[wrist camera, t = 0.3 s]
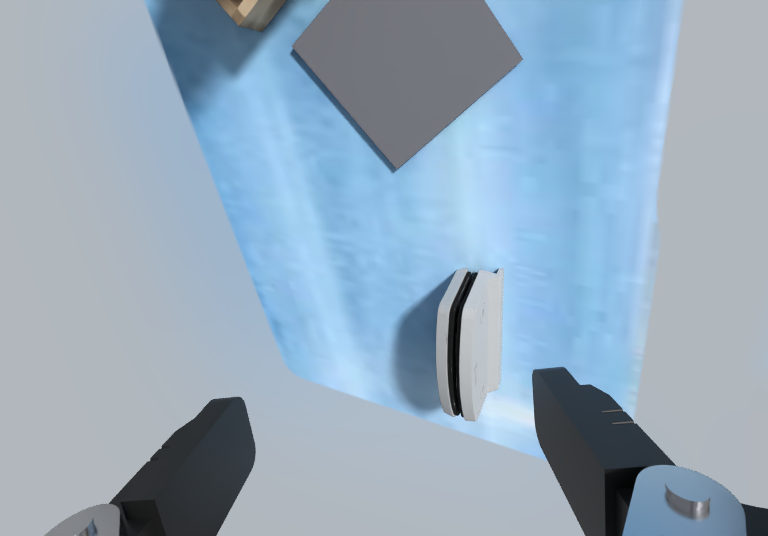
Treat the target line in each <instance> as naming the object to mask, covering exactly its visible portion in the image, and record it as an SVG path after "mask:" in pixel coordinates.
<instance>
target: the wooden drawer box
mask: <svg viewBox="0 0 768 536" xmlns="http://www.w3.org/2000/svg"><path fill="white" fill-rule="evenodd" d="M216 1H217V2H218V3H219V4H220V5H221V6H222V8H223V9H224V10H225V11H226V12H227V13H228V14H229V15H230V17H231V18H232V19H233V20H234V21H235V22H236V23H237V25H238V26H241V27H244V28H248V29H252V30H256V31H260V32H262V31H263V30H264V29H265V28H266V26H267V25H268V24H269V22H270V21H271V20H272V19H273V17H274V16H275V15H276V13H277V12H278V11H279V10H280V8H281V7H282V6H283V4H284V3H285V2H286V1H287V0H216Z"/></svg>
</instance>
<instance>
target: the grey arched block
mask: <svg viewBox="0 0 768 536" xmlns="http://www.w3.org/2000/svg"><path fill="white" fill-rule="evenodd" d="M503 284H504V269H503V268H499V269H498V272H497V274H495V273H492V272H488V271H484V270H479V272H478V273H475V274H474V276H473V279H472V281H471V272H468V268H463V269H458V270H457V271H456V273H455V275H454V277H453V279H452V281H451V283H450V285H449V287H448V289H447V291H446V293H445V295H444V297H443V299H442V301H441V302H440V305H439V308H438V315H437V332H436V369H437V383H438V390H439V397H440V401H441V405H442V408H443V411H444V412H445V413H447V414H449V415H451V416H452V417H455V416H456V415H457V416H458V415H459V414H460V413H461V416H462V417H464V419H465V420H466V421H477V419H478V417H479V414H480V411H481V409H482V406H483V403H484V401H485V398H486V395H487V393H489V392H492V391H495V390H497V389H498V388H499V384H500V381H501V355H502V320H503Z"/></svg>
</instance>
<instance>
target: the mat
mask: <svg viewBox="0 0 768 536" xmlns="http://www.w3.org/2000/svg"><path fill="white" fill-rule="evenodd" d="M292 47H293V48H294V50H295V51H296V52H297V53H298V54H299V55H300V57H301V58H302V59H303V60H304V61H305V62H306V64H307V65H308V66H309V67H310V68H311V69H312V71H313V72H314V73H315V74H316V75H317V76H318V78H319V79H320V80H321V81H322V82H323V84H324V85H325V86H326V87H327V88H328V89H329V91H330V92H331V93H332V94H333V95H334V96H335V98H336V99H337V100H338V101H339V102H340V103H341V105H342V106H343V107H344V108H345V109H346V110H347V112H348V113H349V114H350V115H351V116H352V117H353V119H354V120H355V121H356V122H357V123H358V125H359V126H360V127H361V128H362V129H363V130H364V132H365V133H366V134H367V135H368V136H369V137H370V139H371V140H372V141H373V142H374V143H375V144H376V146H377V147H378V148H379V149H380V150H381V151H382V153H383V154H384V155H385V156H386V157H387V159H388V160H389V161H390V162H391V163H392V164H393V166H394V167H395V168H396V169H398V168H399V167H400V166H401V165H403V164H404V163H405V162H406V161H407V160H408V159H409V158H411V157H412V156H413V155H414V154H415V153H416V152H417V151H419V150H420V149H421V148H422V147H423V146H424V145H425V144H427V143H428V142H429V141H430V140H431V139H432V138H433V137H435V136H436V135H437V134H438V133H439V132H440V131H441V130H443V129H444V128H445V127H446V126H447V125H448V124H450V123H451V122H452V121H453V120H454V119H455V118H456V117H458V116H459V115H460V114H461V113H462V112H463V111H464V110H466V109H467V108H468V107H469V106H470V105H471V104H472V103H474V102H475V101H476V100H477V99H478V98H479V97H480V96H482V95H483V94H484V93H485V92H486V91H487V90H488V89H490V88H491V87H492V86H493V85H494V84H495V83H496V82H498V81H499V80H500V79H501V78H502V77H503V76H504V75H506V74H507V73H508V72H509V71H510V70H511V69H513V68H514V67H515V66H516V65H517V64H518V63H519V62H521V61H522V60H523V58H522V57H521V55H520V54H519V52H518V51H517V49H516V48H515V46H514V45H513V43H512V42H511V40H510V39H509V37H508V36H507V34H506V33H505V31H504V30H503V28H502V27H501V25H500V24H499V22H498V21H497V19H496V18H495V16H494V14H493V13H492V11H491V10H490V8H489V7H488V5H487V4H486V2H485V1H484V0H330V1H329V2H328V3H327V4H326V6H325V7H324V8H323V9H322V10H321V12H320V13H319V14H318V15H317V16H316V18H315V19H314V20H313V21H312V23H311V24H310V25H309V26H308V27H307V29H306V30H305V31H304V32H303V33H302V35H301V36H300V37H299V38H298V39H297V41H296V42H295V43H294V44H293V45H292Z"/></svg>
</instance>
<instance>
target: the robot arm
mask: <svg viewBox="0 0 768 536" xmlns="http://www.w3.org/2000/svg"><path fill="white" fill-rule="evenodd" d="M532 383H533V400H534V417H535V427H536V433H537V437H538V440H539V443H540V446H541V448H542V450H543V452H544V454H545V456H546V458H547V460H548V462H549V464H550V466H551V468H552V470H553V472H554V474H555V476H556V478H557V480H558V482H559V484H560V486H561V488H562V490H563V492H564V494H565V496H566V498H567V500H568V502H569V504H570V505H571V508H572V510H573V512H574V514H575V516H576V518H577V520H578V522H579V524H580V526H581V528H582V530H583V532H584V534H585V536H768V509H765V508H759V507H754V506H750V505H745V504H741V503H740V502H739V501H738V499H737V498H736V497H735V496H734V495H733V494H732V493H731V492H730V491H729V490H728V489H726V488H725V487H724V486H723V485H721V484H719V483H718V482H716V481H715V480H713V479H711V478H709V477H708V476H705V475H703V474H701V473H699V472H696V471H693V470H690V469H687V468H683V467H679V466H676V465H675V464H674V463H673V462H672V461H671V460H670V459H669V458H668V457H667V456H666V455H665V453H663V451H662V450H661V449H660V448H659V447H658V446H657V445H656V444H655V443H654V442H653V441H652V440H651V439H650V437H649V436H648V435H647V434H646V433H645V432H643V430H642V429H641V428H640V427H639V426H638V425H637V424H634V421H633V419H632V418H631V417H630V416H629V415H628V414H627V413H626V412H623V410H622V408H621V407H620V406H619V405H618V404H617V403H616V402H615V400H614V399H613V398H612V397H611V396H610V395H608V394H607V393H605V392H603V391H601V390H599V389H597V388H596V387H594V386H592V385H590V384H589V385H579V384H578V382H577V381H576V380H575V379H574V378H573V376H572V375H571V374H570V373H569V372H568V371H567V369H566V368H564V367H556V368H546V369H535V370H533V374H532ZM255 452H256V451H255V442H254V439H253V434H252V430H251V426H250V422H249V418H248V414H247V409H246V406H245V403H244V400H243V399H242V398H241V397H231V398H220V399H213V400H211V401H210V402H209V403H208V404H207V405H206V406H205V407H204V409H203V410H202V411H201V412H200V413H199V414H198V415H197V416H196V417H195V419H193V420H191V421H190V422H188V423H187V424H186V425H184V426H183V427H181V428H180V429H178V430H177V431H176V432H174V434H173V435H172V436H171V437H170V438H169V439H168V440H167V441H166V442H165V443H164V444H163V445H162V448H161V449H159V450H158V451H157V452H156V453H155V454H154V455H153V456H152V457H151V460H150V461H149V462H147V463H146V464H145V465H144V466H143V467H142V468H141V469H140V470H139V471H138V472H137V473H136V475H135V476H134V477H133V478H132V479H131V480H130V481H129V482H128V483H127V484H126V485H125V486H124V488H123V489H122V490H121V491H120V492H119V493H118V494H117V495H116V496H115V497H114V498H113V499H112V501H111V502H110V503H109V504H101V505H96V506H93V507H90V508H87V509H85V510H82V511H80V512H78V513H76V514H74V515H72V516H70V517H69V518H67V519H65V520H64V521H62V522H61V523H59V524H58V525H57V526H55V527H54V528H53V529H51V530H50V531H49V532H48V533H47V534H46V535H45V536H216V535H217V533H218V531H219V529H220V528H221V526H222V524H223V522H224V520H225V518H226V517H227V515H228V513H229V511H230V509H231V507H232V505H233V503H234V502H235V500H236V498H237V496H238V494H239V492H240V491H241V489H242V487H243V485H244V483H245V481H246V479H247V478H248V476H249V474H250V472H251V470H252V468H253V465H254V461H255Z"/></svg>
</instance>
